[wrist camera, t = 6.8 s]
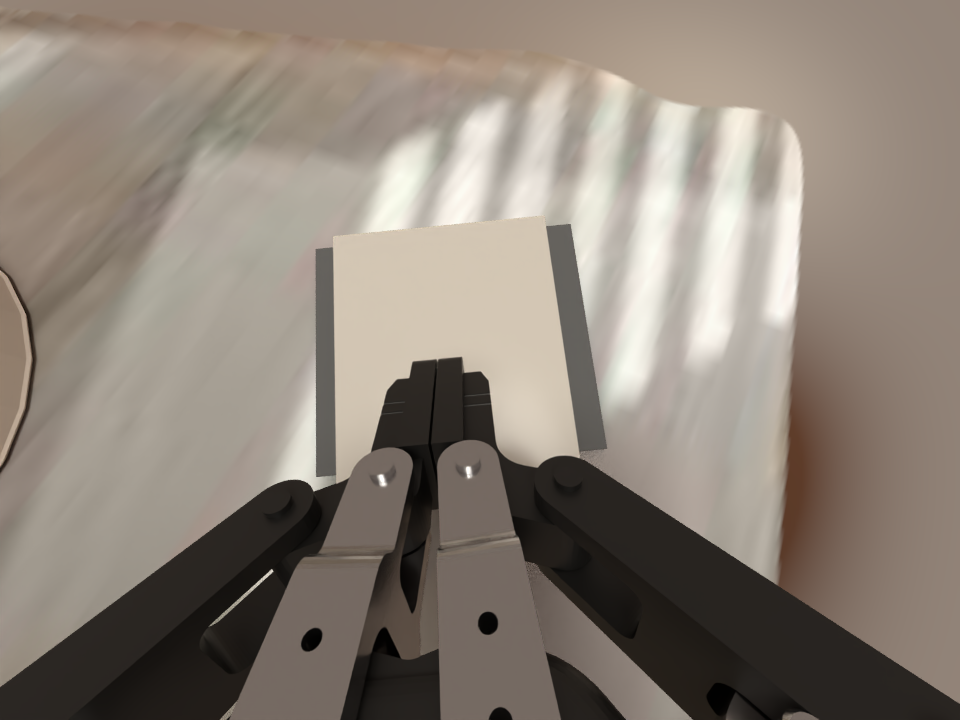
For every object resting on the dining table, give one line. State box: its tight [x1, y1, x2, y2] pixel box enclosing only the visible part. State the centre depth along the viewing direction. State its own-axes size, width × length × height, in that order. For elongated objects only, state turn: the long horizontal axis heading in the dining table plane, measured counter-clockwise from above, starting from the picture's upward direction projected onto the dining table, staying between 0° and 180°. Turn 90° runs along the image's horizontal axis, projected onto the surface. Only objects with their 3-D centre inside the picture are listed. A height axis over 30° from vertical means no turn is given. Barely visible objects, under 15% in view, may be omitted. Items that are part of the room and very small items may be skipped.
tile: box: [333, 216, 580, 484], centre depth 18 cm, size 3×10×12 cm
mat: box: [316, 224, 607, 477], centre depth 19 cm, size 12×14×1 cm
